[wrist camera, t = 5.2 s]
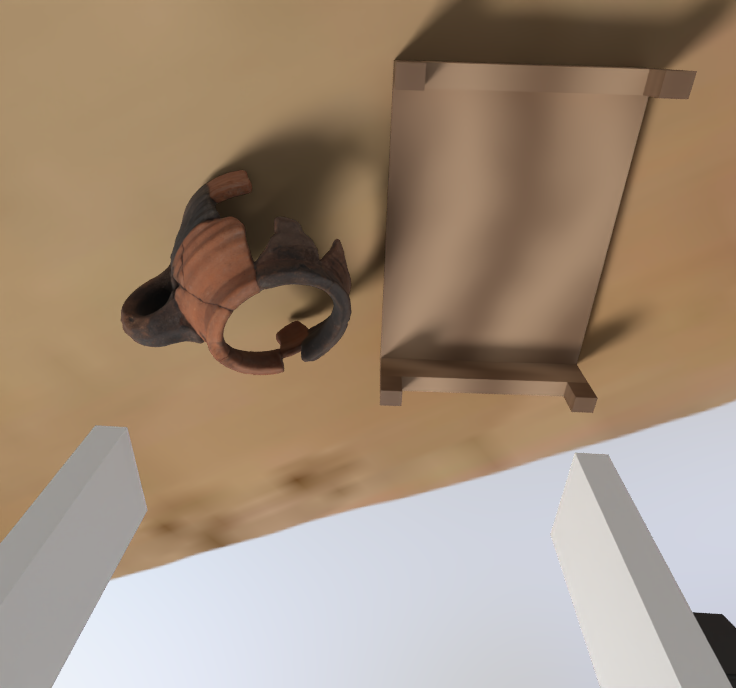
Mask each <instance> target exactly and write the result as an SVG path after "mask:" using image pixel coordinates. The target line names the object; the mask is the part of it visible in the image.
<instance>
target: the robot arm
mask: <svg viewBox="0 0 736 688" xmlns="http://www.w3.org/2000/svg"><path fill="white" fill-rule="evenodd" d="M146 512H147V506H146V502H145V498H144V494H143V490H142V486H141V482H140V478H139V473H138V469H137V465H136V461H135V457H134V453H133V449H132V445H131V441H130V437H129V433H128V428H127V427H113V426H95V427H94V428H93V429H92V430H91V432H90V433H89V434H88V435H87V437H86V438H85V439H84V440H83V442H82V443H81V444H80V445H79V447H78V448H77V449H76V450H75V451H74V453H73V454H72V455H71V456H70V458H69V459H68V460H67V461H66V463H65V464H64V465H63V466H62V468H61V469H60V470H59V471H58V473H57V474H56V475H55V476H54V478H53V479H52V480H51V481H50V483H49V484H48V485H47V486H46V488H45V489H44V490H43V491H42V493H41V494H40V495H39V496H38V498H37V499H36V500H35V501H34V503H33V504H32V505H31V506H30V508H29V509H28V510H27V511H26V513H25V514H24V515H23V516H22V517H21V519H20V520H19V521H18V522H17V524H16V525H15V526H14V527H13V529H12V530H11V531H10V532H9V534H8V535H7V536H6V537H5V539H4V540H3V541H2V542H1V544H0V688H52V686H53V684H54V682H55V680H56V678H57V676H58V675H59V673H60V671H61V669H62V667H63V665H64V664H65V662H66V660H67V658H68V656H69V654H70V653H71V651H72V649H73V647H74V645H75V643H76V641H77V639H78V638H79V636H80V634H81V632H82V630H83V628H84V627H85V625H86V623H87V621H88V619H89V617H90V615H91V614H92V612H93V610H94V608H95V606H96V604H97V602H98V601H99V599H100V597H101V595H102V593H103V591H104V590H105V588H106V586H107V584H108V582H109V580H110V578H111V577H112V575H113V573H114V571H115V569H116V567H117V565H118V564H119V562H120V560H121V558H122V556H123V554H124V553H125V551H126V549H127V547H128V545H129V543H130V541H131V540H132V538H133V536H134V534H135V532H136V530H137V528H138V527H139V525H140V523H141V521H142V519H143V517H144V515H145V514H146ZM550 535H551V538H552V541H553V544H554V547H555V550H556V553H557V557H558V560H559V563H560V566H561V569H562V572H563V575H564V578H565V581H566V584H567V587H568V590H569V593H570V596H571V599H572V603H573V606H574V608H575V612H576V615H577V618H578V621H579V624H580V627H581V630H582V633H583V636H584V640H585V643H586V645H587V649H588V652H589V655H590V657H591V661H592V664H593V667H594V670H595V673H596V676H597V680H598V683H599V686H600V688H736V628H735V627H734V626H733V625H732V624H731V623H730V622H729V621H728V619H727V618H726V617H725V616H724V615H722V614H710V613H695V612H692V611H691V609H690V607H689V605H688V603H687V602H686V600H685V598H684V596H683V594H682V592H681V590H680V588H679V586H678V585H677V583H676V581H675V579H674V577H673V575H672V573H671V571H670V569H669V568H668V566H667V564H666V562H665V560H664V558H663V556H662V555H661V553H660V551H659V549H658V547H657V545H656V543H655V541H654V540H653V538H652V536H651V534H650V532H649V530H648V528H647V526H646V525H645V523H644V521H643V519H642V517H641V515H640V513H639V511H638V510H637V508H636V506H635V504H634V502H633V500H632V498H631V497H630V495H629V493H628V491H627V489H626V487H625V485H624V483H623V482H622V480H621V478H620V476H619V474H618V472H617V470H616V468H615V467H614V465H613V463H612V461H611V459H610V457H609V455H605V454H587V453H575V455H574V458H573V461H572V464H571V468H570V471H569V474H568V478H567V481H566V484H565V487H564V491H563V494H562V498H561V501H560V504H559V507H558V511H557V514H556V517H555V520H554V524H553V527H552V530H551V533H550Z"/></svg>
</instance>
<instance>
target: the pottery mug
mask: <svg viewBox="0 0 736 688" xmlns="http://www.w3.org/2000/svg"><path fill="white" fill-rule="evenodd" d="M251 191H252V185H251V182H250V180H249V179H248V175H247V172H246V171H243V170H239V171H234V172H229V173H226V174H224V175H221V176H219V177H217V178H215V179H213V180H211V181H209V182H208V183H207V184H205V185H203V186H202V187H201V188H200V189H199V190H198V191H197V192H196V193H195V194H194V195H193V196H192V198H191V199H190V201H189V203H188V204H187V206H186V209H185V212H184V215H183V220H182V224H181V227H180V230H179V232H178V235H177V237H176V240H175V245H174V248H173V251H172V254H171V263H170V265H169V267H168V268H167V269H166V270H165V271H163V272H162V273H161V274H160V275H158V276H157V277H155V278H153V279H151V280H149V281H148V282H146V283H144V284H143V285H142V286H140V287H139V288H137V289H136V290H135V291H134V292H133V293H132V294H131V295H130V296H129V297H128V298H127V299H126V301H125V303H124V304H123V306H122V310H121V321H122V324H123V330H124V331H125V333H126V334H128V335H129V336H130V337H131V338H132V339H133V340H134V341H135V342H137V343H139V344H141V345H144V346H149V347H162V346H167V345H170V344H174V343H179V342H184V341H191V342H196V343H203V342H204V341H205V342H207V345H208V348H209V350H210V352H211V354H212V355H213V357H214V358H215V359H216V360H217V361H219V362H220V363H221V364H223V365H224V366H226V367H228V368H230V369H232V370H235V371H237V372H241V373H244V374H253V375H271V374H277V373H281V372H284V363H283V360H282V359H283V358H285V357H289V356H292V355H294V354H296V353H298V352H300V351H301V358H302V360H303V361H304V362H307V361H315V360H317V359H319V358H320V357H321V356H323V355H324V354H325V353H327V352H328V351H329V350H330V349H331V348H332V347H333V346H334V345H335V344H336V343H337V342H338V341H339V340H340V339H341V337H342V336H343V334H344V332H345V330H346V328H347V325H348V323H347V322H348V321H349V320H350V315H351V303H350V298H349V293H350V289H351V278H350V274H349V272H348V268H347V264H346V260H345V256H344V251H343V248H342V245H341V242H340V240H339V239H336V240H335V241H334V242H333V245H332V247H331V249H330V251H328V252H327V253H326V254H325V255H324V256H323V257H322V259H320V260H319V256H318V250H317V248H316V246H315V244H314V242H313V241H312V239H311V238H310V237H309V236H307V235H306V234H305V233H304V232H303V230H302V228H301V225H300V224H299V223H298V222H297V221H296V220H293V219H290V218H286V217H276V218H275V220H274V231H275V234H274V235H273V236H272V237H271V239H270V240H269V242H268V244H267V246H266V248H265V250H264V251H263V253H262V254H261V255H260V256H259V258H258V259H257V260H256V261H255V262H254V260H253V258H252V256H251V252H250V250H249V247H248V243H247V239H246V230H245V226H244V224H243V223H241V222H240V221H239V220H238V219H237V218H234V217H232V216H230V217H224V218H220V215H219V213H218V212H217V210H216V209H215V208H216V204H217V203H219V202H222V201H224V200H226V199H229V198H232V197H236V196H239V195H243V194H248V193H250V192H251ZM288 284H299V285H309V286H313V287H317V288H319V289H321V290H324V291H325V292H326V293H327V294H329V295H330V297H331V298H332V299H333V304H334V307H333V311H332V313H331V315H330V316H329V317H328V318H327V319H326V320H324V321H323V322H321V323H319V324H317V325H316V326H314V327H312V328H310V329H308V328H307V327H306V326H305V325H303V324H302V323H301V322H299V321H295V322H292V323H290V324H289V325H287V326H285V327H284V328H283V329H281V330H280V331H279V332H278V333H277V334H276V340H277V342H278V343H279V344H280V349H276V350H271V351H263V352H252V351H250V352H248V351H242V350H237V349H234V348H232V347H230V346H229V345H228V344H227V343H225V340H224V337H223V332H224V327H225V324H226V322H227V320H228V318H229V317H230V315H231V314H232V312H233V310H235V309H236V308H237V307H238V306H239V305H240V304H242V303H243V302H244V301H246V300H247V299H249V298H250V297H252V296H254V295H255V294H257V293H259V292H260V291H261V290H264V289H269V288H273V287H277V286H281V285H288Z"/></svg>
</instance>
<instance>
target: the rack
mask: <svg viewBox="0 0 736 688" xmlns="http://www.w3.org/2000/svg"><path fill="white" fill-rule="evenodd" d="M696 72H697V71H683V70H669V69H655V68H633V67H601V66H569V65H537V64H505V63H473V62H440V61H408V60H394V69H393V91H392V113H391V135H390V157H389V179H388V201H387V223H386V245H385V267H384V289H383V311H382V333H381V355H380V405H388V406H401V403H402V391H424V392H453V393H482V394H511V395H539V396H564V398H565V400H566V402H567V404H568V406H569V408H570V410H571V411H572V412H589V413H593V411H594V408H595V405H596V401H597V397H596V395H595V393H594V392H593V390H592V389H591V387H590V385H589V384H588V382H587V380H586V379H585V377H584V376H583V374H582V372H581V371H580V369H579V368H578V366H577V361H578V358H579V354H580V350H581V346H582V343H583V339H584V335H585V332H586V328H587V324H588V320H589V317H590V313H591V309H592V305H593V302H594V298H595V294H596V291H597V287H598V283H599V279H600V276H601V272H602V268H603V265H604V261H605V257H606V253H607V250H608V246H609V242H610V238H611V235H612V231H613V227H614V224H615V220H616V216H617V212H618V209H619V205H620V201H621V198H622V194H623V190H624V186H625V183H626V179H627V175H628V171H629V168H630V164H631V160H632V157H633V153H634V149H635V145H636V142H637V138H638V134H639V131H640V127H641V123H642V119H643V116H644V112H645V108H646V104H647V101H648V97H649V96H650V97H655V98H670V99H688V98H689V95H690V92H691V89H692V85H693V82H694V79H695V75H696Z"/></svg>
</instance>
